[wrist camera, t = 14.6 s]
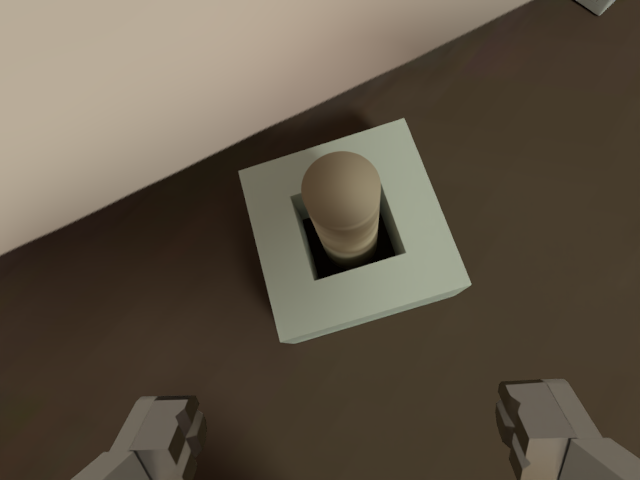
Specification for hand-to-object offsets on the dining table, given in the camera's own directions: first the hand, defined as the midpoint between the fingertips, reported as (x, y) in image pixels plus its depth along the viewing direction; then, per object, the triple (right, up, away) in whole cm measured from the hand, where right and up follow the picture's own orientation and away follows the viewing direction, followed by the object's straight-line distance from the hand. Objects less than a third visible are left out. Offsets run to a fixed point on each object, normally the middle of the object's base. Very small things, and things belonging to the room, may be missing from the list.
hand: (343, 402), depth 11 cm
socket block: (+2, +4, +20) cm, 20 cm away
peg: (+2, +4, +20) cm, 20 cm away
